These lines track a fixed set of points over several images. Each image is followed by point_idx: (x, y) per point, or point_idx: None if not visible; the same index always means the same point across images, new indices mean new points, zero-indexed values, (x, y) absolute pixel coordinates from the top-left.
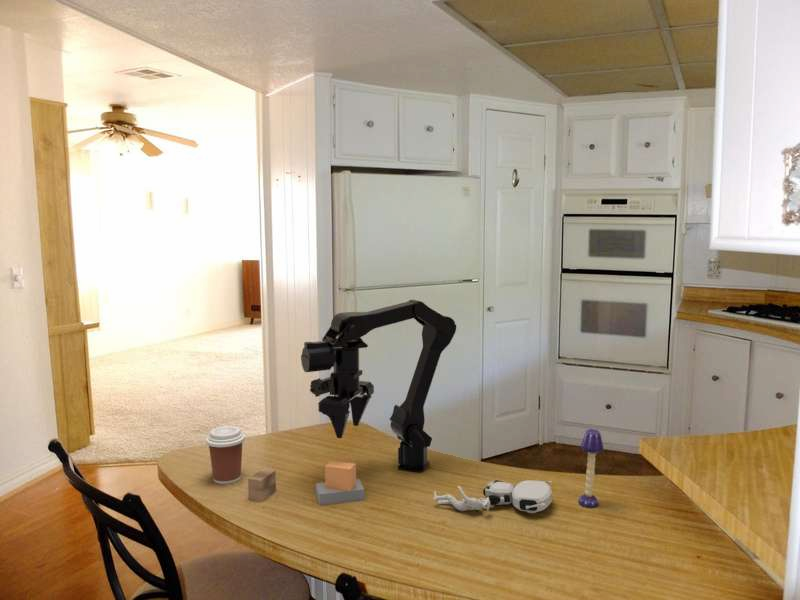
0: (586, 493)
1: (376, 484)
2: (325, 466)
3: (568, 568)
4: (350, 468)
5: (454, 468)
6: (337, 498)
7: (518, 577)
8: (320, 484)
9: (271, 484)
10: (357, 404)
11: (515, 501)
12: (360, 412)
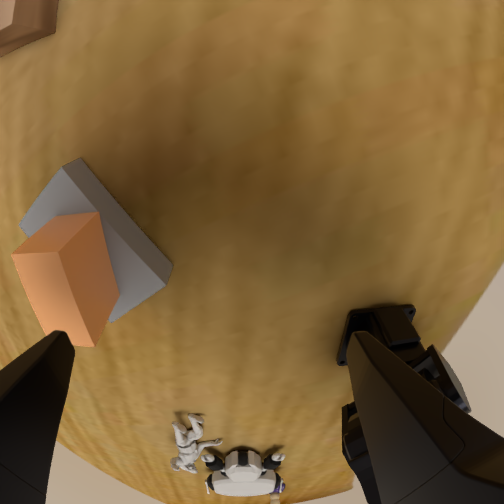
0: (271, 496)
1: (225, 297)
2: (12, 256)
3: (133, 476)
4: None
5: None
6: None
7: (91, 456)
8: (62, 188)
9: (16, 38)
10: (413, 500)
11: (214, 478)
12: (377, 454)
